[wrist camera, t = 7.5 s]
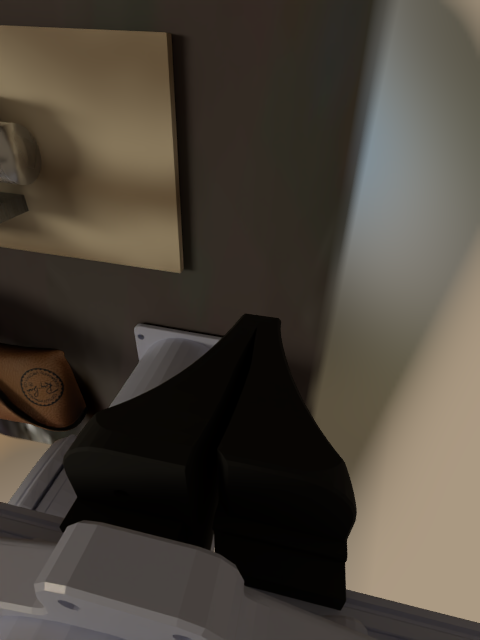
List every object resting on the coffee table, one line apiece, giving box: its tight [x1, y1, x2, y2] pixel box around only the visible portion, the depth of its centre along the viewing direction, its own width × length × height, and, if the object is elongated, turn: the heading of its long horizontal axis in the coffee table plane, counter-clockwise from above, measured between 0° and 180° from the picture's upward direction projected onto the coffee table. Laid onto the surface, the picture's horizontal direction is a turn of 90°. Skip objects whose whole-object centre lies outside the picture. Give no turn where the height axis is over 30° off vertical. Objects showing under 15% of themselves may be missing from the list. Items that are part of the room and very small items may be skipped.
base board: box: [0, 25, 184, 273], centre depth 21 cm, size 12×22×1 cm, turn 87°
